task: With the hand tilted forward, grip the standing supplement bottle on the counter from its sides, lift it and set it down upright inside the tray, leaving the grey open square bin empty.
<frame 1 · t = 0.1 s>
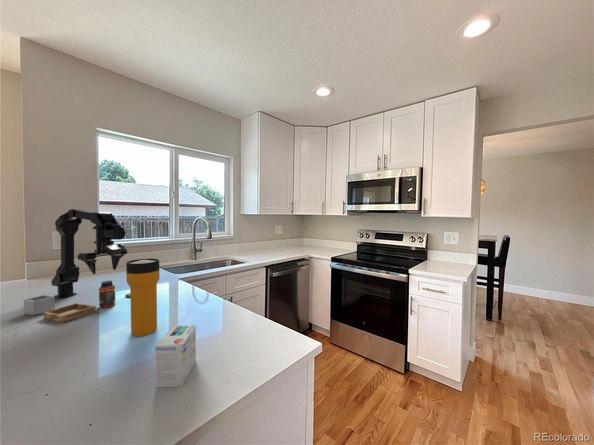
hand: (104, 271, 117), 15 cm above the worktop, tool pointing down, fingers open, 9 cm apart
light bulb box: (177, 374, 66), on the worktop
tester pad: (135, 296, 126), on the worktop
flashlight: (144, 332, 89), on the worktop
tray: (70, 315, 102), on the worktop
supplement bottle: (107, 306, 113), on the worktop
grey open square bin: (39, 311, 105), on the worktop
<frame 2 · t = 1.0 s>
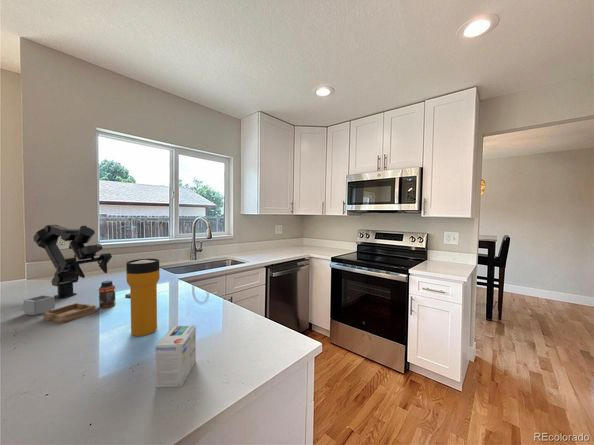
hand: (95, 275, 115), 13 cm above the worktop, tool tilted 45°, fingers open, 9 cm apart
nothing on the worktop moved.
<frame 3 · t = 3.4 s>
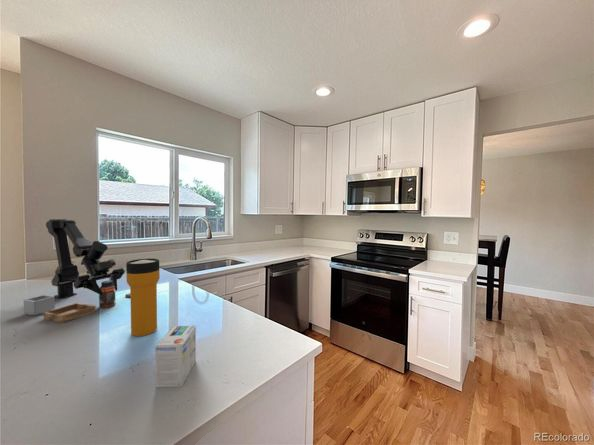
hand: (109, 292, 112), 7 cm above the worktop, tool tilted 45°, fingers closed on supplement bottle, 6 cm apart
supplement bottle: (107, 306, 113), on the worktop, touching gripper
everything else where it was.
when the fingers open (8 cm above the worktop, at t = 6.8 s): supplement bottle stays where it is, resting on tray.
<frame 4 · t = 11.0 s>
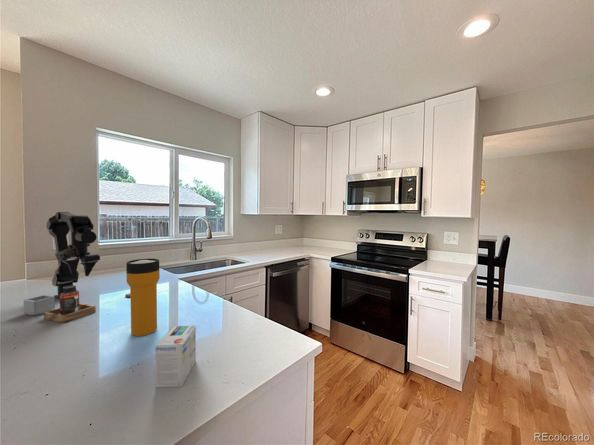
hand: (80, 275, 116), 13 cm above the worktop, tool pointing down, fingers open, 9 cm apart
supplement bottle: (70, 314, 102), resting on tray
everything else where it was.
at the end: supplement bottle inside the target area on the tray (0.2 cm from its centre), point 0.4 cm above the tray's base; supplement bottle tilted 0°; the gripper is holding nothing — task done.
